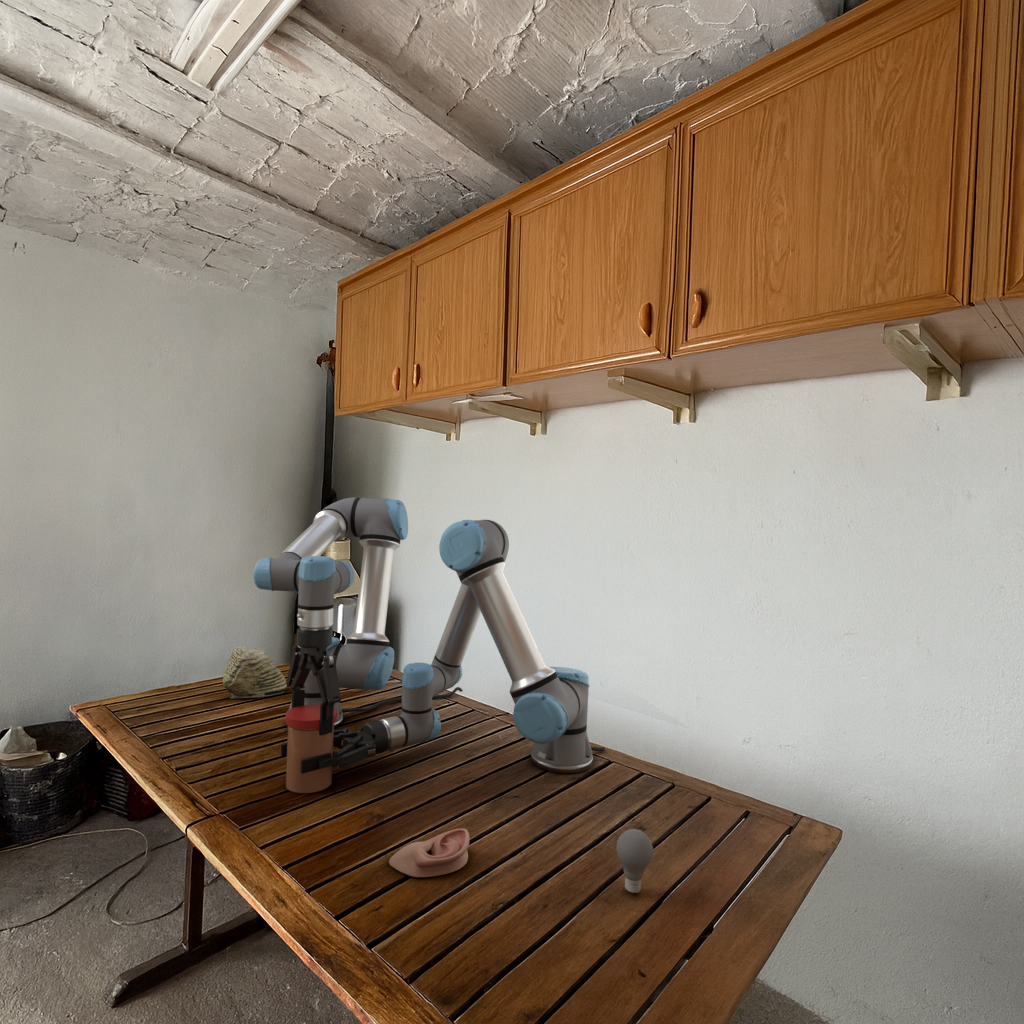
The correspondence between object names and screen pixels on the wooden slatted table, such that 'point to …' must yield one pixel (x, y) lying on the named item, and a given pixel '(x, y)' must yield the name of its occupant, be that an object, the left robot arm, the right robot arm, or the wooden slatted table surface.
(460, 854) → the anatomical model
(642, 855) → the light bulb
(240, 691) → the fossil
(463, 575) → the right robot arm
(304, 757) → the jar
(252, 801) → the wooden slatted table surface
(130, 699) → the wooden slatted table surface
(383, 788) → the wooden slatted table surface
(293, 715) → the lid
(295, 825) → the wooden slatted table surface
